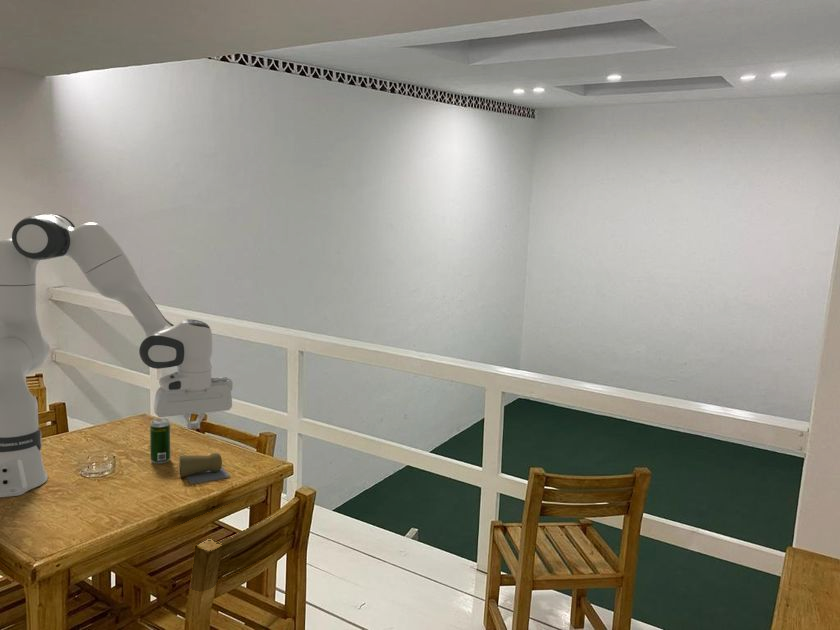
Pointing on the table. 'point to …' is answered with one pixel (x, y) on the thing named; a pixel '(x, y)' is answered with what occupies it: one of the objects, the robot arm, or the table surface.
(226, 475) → the mat
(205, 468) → the cork
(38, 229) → the robot arm
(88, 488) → the table surface
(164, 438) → the beer can
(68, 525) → the table surface
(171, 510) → the table surface
